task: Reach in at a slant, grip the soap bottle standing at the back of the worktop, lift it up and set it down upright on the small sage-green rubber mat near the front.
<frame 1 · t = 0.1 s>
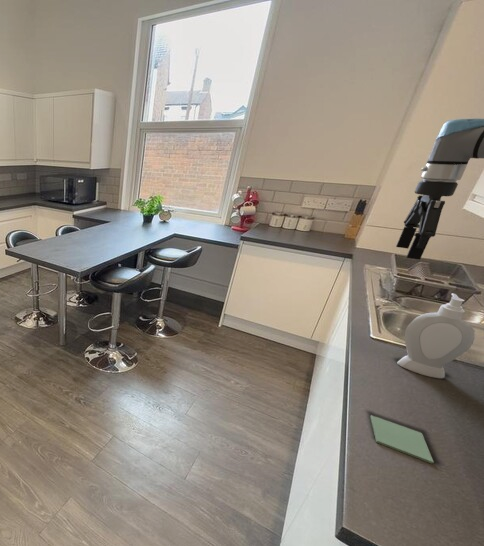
hand: (407, 252, 94), 33 cm above the worktop, tool pointing down, fingers open, 13 cm apart
soap bottle: (418, 368, 95), on the worktop
mat: (398, 438, 71), on the worktop
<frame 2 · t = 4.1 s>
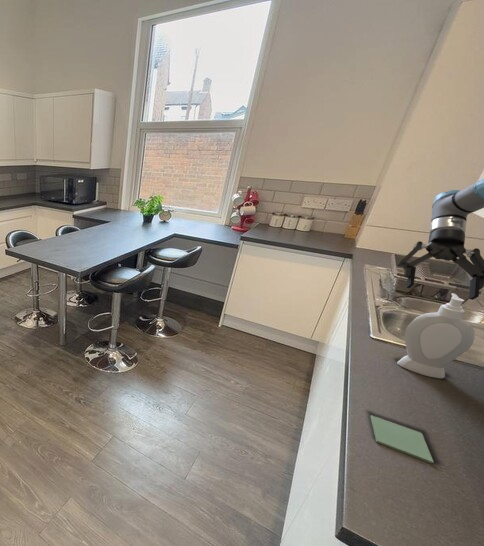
hand: (440, 292, 95), 22 cm above the worktop, tool tilted 45°, fingers open, 13 cm apart
nothing on the worktop moved.
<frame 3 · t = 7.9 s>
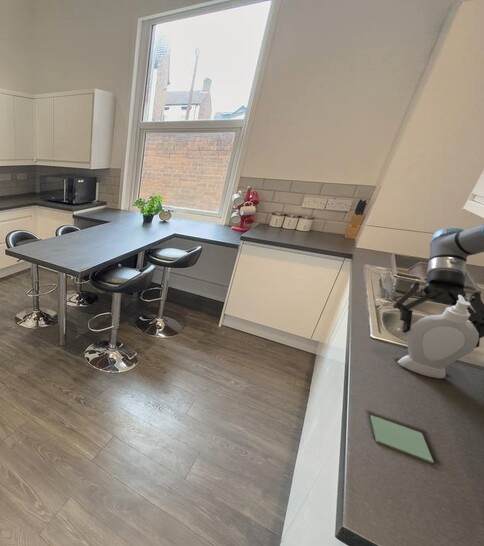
hand: (438, 338, 89), 12 cm above the worktop, tool tilted 45°, fingers closed on soap bottle, 13 cm apart
soap bottle: (419, 367, 95), on the worktop, touching gripper
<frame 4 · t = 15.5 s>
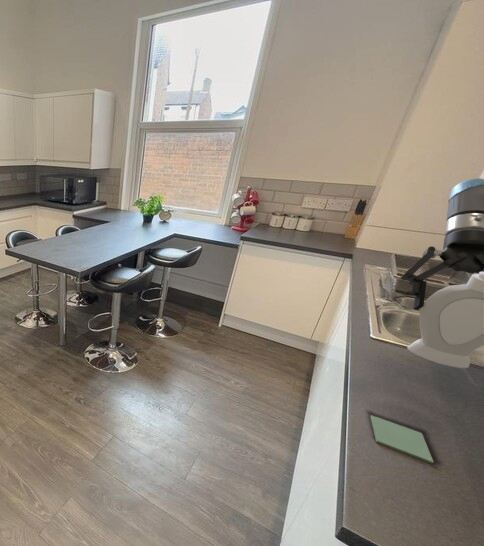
hand: (461, 316, 69), 28 cm above the worktop, tool tilted 45°, fingers closed on soap bottle, 13 cm apart
soap bottle: (435, 355, 74), point 16 cm above the worktop, touching gripper
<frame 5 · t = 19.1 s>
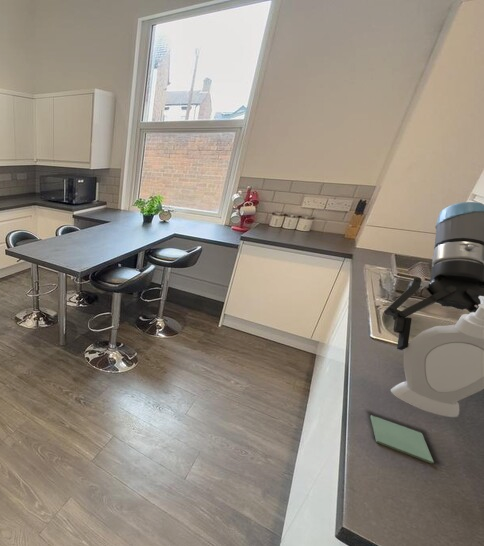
hand: (449, 360, 61), 23 cm above the worktop, tool tilted 45°, fingers closed on soap bottle, 13 cm apart
soap bottle: (421, 399, 67), point 12 cm above the worktop, touching gripper
when the fingers open (12 cm above the worktop, at t = 22.9 s): soap bottle stays where it is, resting on mat.
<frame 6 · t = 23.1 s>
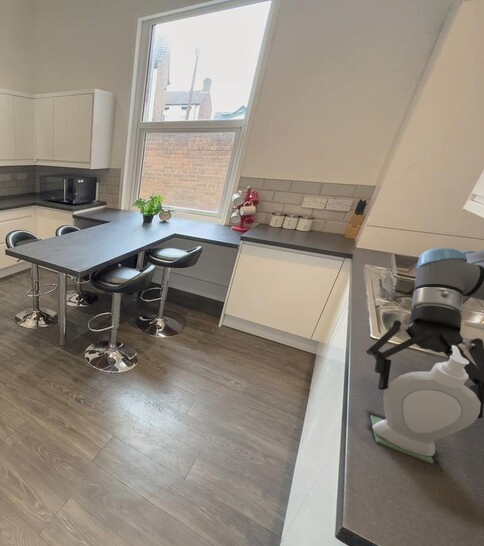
hand: (426, 402, 65), 13 cm above the worktop, tool tilted 45°, fingers open, 13 cm apart
soap bottle: (400, 437, 71), point 1 cm above the worktop, touching gripper, mat
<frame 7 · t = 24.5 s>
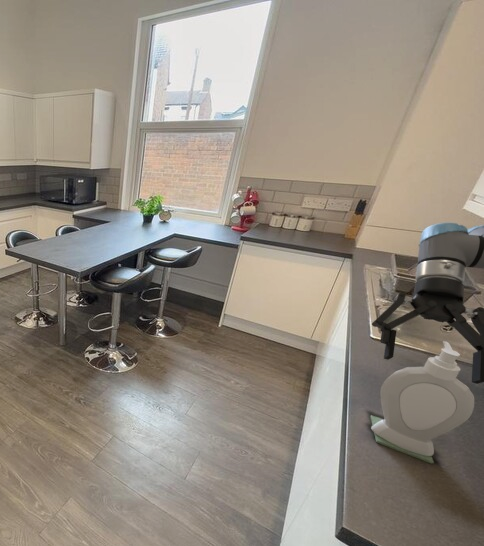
hand: (430, 369, 67), 18 cm above the worktop, tool tilted 45°, fingers open, 13 cm apart
soap bottle: (399, 438, 71), resting on mat
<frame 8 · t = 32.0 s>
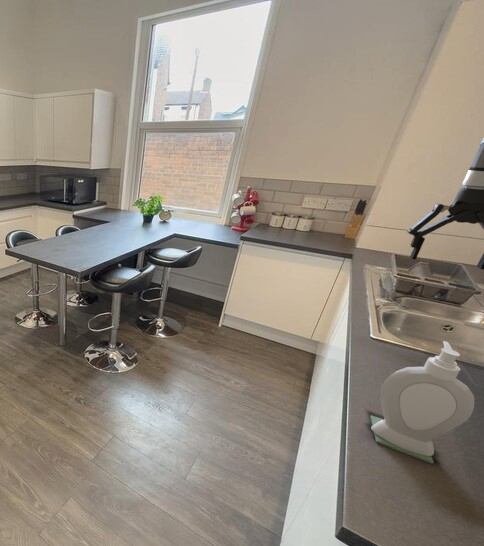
hand: (445, 263, 90), 32 cm above the worktop, tool pointing down, fingers open, 13 cm apart
nothing on the worktop moved.
at the end: soap bottle inside the target area on the mat (0.4 cm from its centre), point 0.4 cm above the mat's base; soap bottle tilted 0°; soap bottle moved 40.4 cm from its start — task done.
